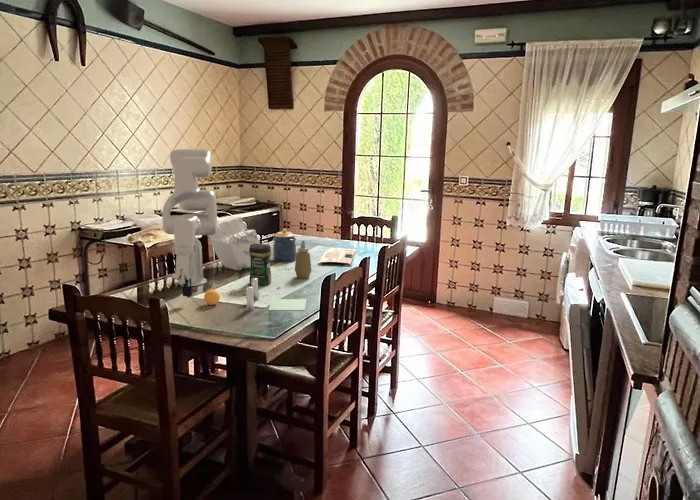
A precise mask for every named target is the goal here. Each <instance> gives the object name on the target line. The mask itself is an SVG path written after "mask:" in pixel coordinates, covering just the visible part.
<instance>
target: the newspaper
mask: <svg viewBox="0 0 700 500" xmlns="http://www.w3.org/2000/svg"><path fill="white" fill-rule="evenodd" d="M356 253H357V252H356V249H354V248H353V249H352V248H342V247H341V248H339V247H338V248H337V247H336V248H335V247H333V248H327V249H325V252H324V253H323V254H322V257H320V259H319V261H318V262H317V265H318V266H323V264H324V263H338V264H339V263H341V264H343V266H344V267H348V266H349V267H350V266H351V265H352V262H353V260H354V257H355V255H356Z"/></svg>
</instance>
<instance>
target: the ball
mask: <svg viewBox="0 0 700 500" xmlns="http://www.w3.org/2000/svg"><path fill="white" fill-rule="evenodd" d="M220 298H221V297H220V293H219V292H218V291H217V290H215V289H208V290H207V291H206V292H204V295H203V300H204V302H205V303H206V304H207V305H209V306H214V305H216V304H218V303H219V301H220Z"/></svg>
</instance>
